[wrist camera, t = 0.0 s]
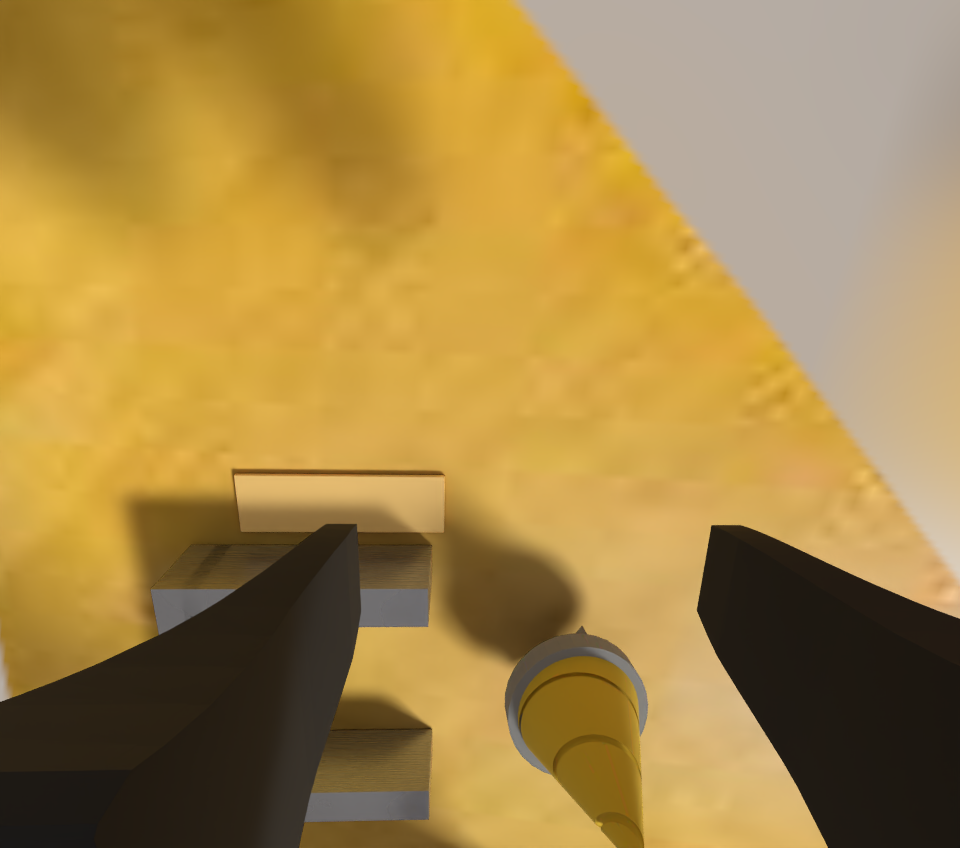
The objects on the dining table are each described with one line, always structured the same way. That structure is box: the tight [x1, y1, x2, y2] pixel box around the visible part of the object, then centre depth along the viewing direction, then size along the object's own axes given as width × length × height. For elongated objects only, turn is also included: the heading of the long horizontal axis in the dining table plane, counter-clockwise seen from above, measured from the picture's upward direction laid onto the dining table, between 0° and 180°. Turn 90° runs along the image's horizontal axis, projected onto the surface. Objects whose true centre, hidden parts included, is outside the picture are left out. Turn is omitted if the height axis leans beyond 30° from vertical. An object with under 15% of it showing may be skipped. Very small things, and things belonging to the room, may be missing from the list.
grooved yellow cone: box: [505, 626, 648, 848], centre depth 19 cm, size 5×5×10 cm
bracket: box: [151, 545, 432, 822], centre depth 22 cm, size 11×10×3 cm
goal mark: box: [234, 474, 445, 532], centre depth 21 cm, size 2×8×1 cm, turn 88°
